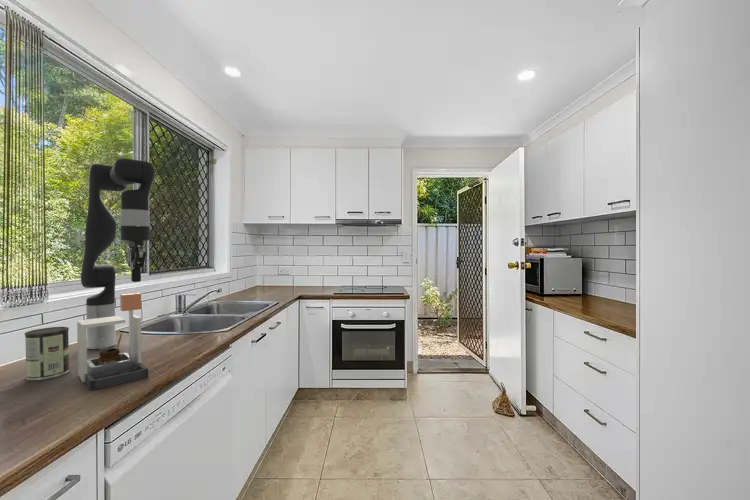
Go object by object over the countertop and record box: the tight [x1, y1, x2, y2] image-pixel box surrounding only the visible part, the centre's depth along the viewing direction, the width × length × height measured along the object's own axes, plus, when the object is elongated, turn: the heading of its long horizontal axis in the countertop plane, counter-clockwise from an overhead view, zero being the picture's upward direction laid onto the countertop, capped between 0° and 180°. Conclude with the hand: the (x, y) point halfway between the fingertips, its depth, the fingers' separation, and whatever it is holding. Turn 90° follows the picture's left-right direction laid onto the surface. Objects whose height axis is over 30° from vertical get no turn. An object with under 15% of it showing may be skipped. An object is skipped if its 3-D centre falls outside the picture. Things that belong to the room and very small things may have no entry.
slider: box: [87, 292, 142, 379], centre depth 116 cm, size 12×13×24 cm
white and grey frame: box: [76, 313, 143, 383], centre depth 115 cm, size 10×15×17 cm, turn 136°
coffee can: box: [24, 326, 70, 381], centre depth 114 cm, size 10×10×14 cm
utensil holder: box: [98, 333, 123, 366], centre depth 115 cm, size 6×6×12 cm
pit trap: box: [84, 363, 149, 391], centre depth 109 cm, size 9×14×2 cm, turn 136°
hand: (136, 281), depth 110 cm, fingers closed
